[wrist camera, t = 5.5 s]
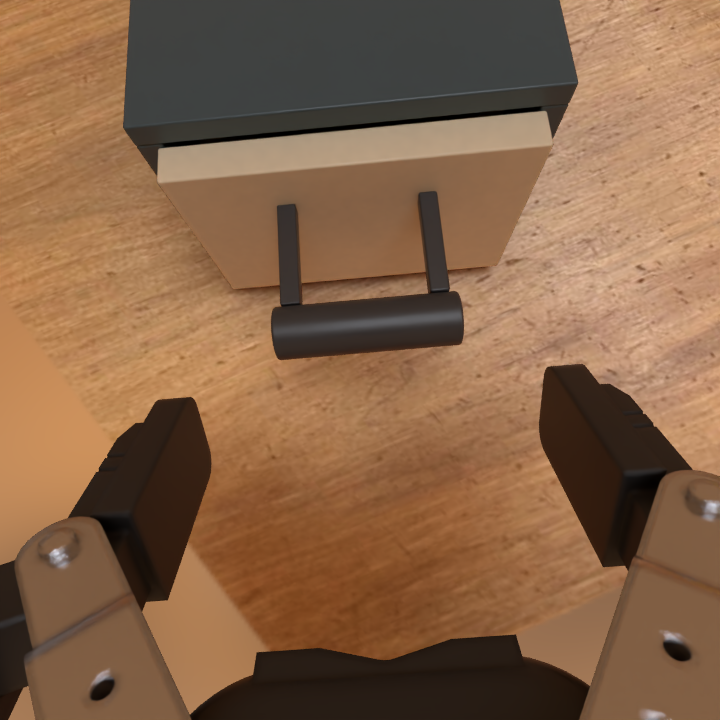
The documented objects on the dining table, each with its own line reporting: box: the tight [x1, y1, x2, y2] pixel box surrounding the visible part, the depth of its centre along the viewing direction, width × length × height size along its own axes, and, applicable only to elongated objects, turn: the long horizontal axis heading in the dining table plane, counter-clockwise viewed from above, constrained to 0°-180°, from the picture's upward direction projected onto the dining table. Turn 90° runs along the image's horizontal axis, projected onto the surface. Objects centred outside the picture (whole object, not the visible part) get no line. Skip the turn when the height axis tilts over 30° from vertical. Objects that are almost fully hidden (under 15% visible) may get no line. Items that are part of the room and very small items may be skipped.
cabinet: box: [123, 0, 578, 175], centre depth 21 cm, size 15×13×10 cm
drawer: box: [157, 110, 553, 360], centre depth 20 cm, size 18×11×8 cm, turn 4°
